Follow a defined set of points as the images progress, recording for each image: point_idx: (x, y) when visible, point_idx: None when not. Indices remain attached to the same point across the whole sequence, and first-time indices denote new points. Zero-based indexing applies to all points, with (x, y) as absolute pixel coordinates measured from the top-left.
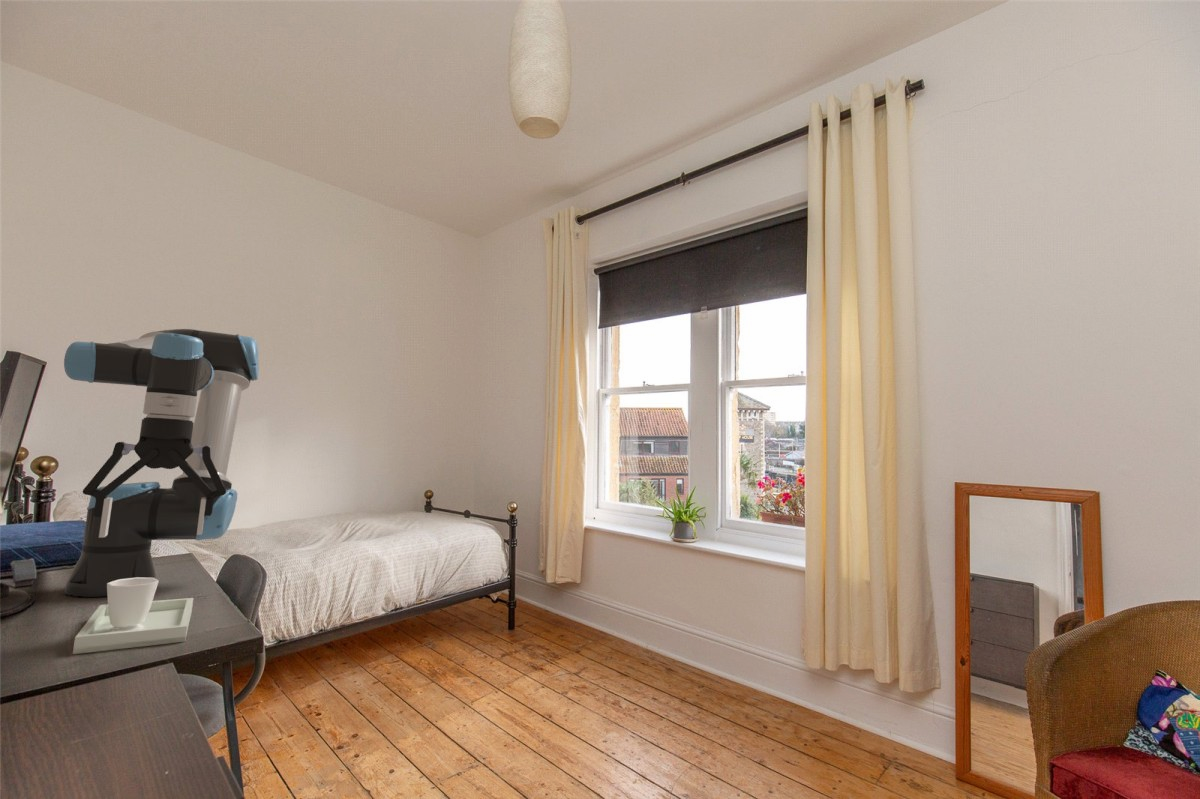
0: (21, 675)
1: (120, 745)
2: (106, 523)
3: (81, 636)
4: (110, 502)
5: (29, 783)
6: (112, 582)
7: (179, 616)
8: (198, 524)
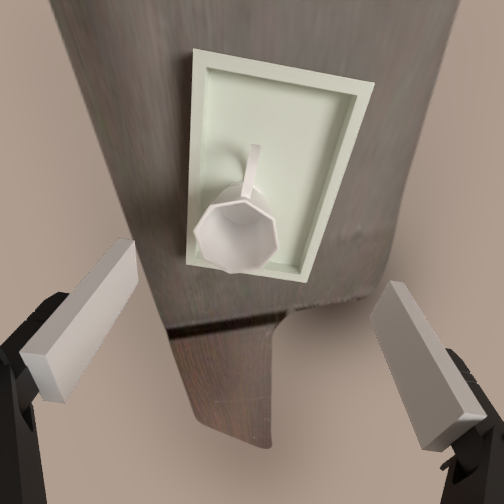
0: (159, 291)
1: (236, 413)
2: (118, 314)
3: (192, 263)
4: (71, 370)
5: (203, 422)
6: (201, 223)
7: (324, 159)
8: (381, 344)
